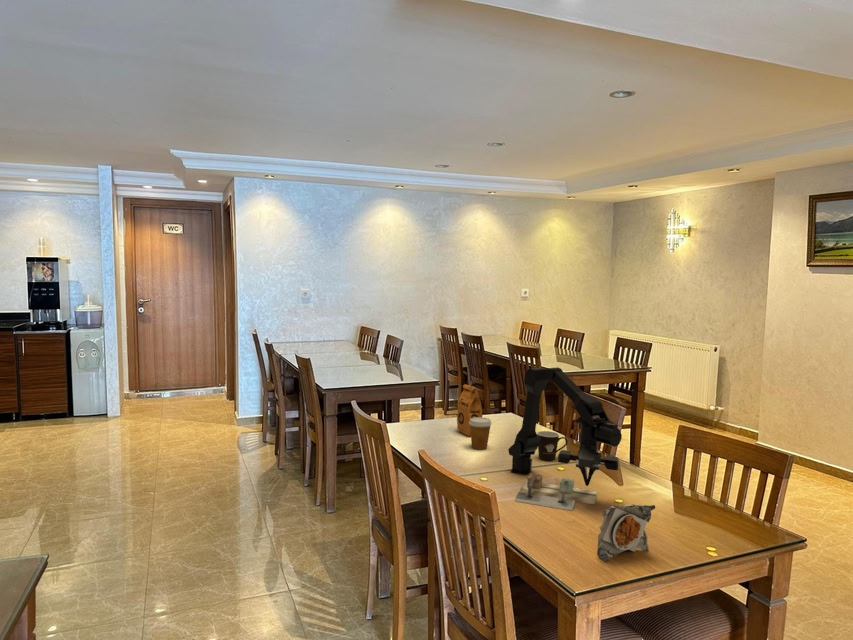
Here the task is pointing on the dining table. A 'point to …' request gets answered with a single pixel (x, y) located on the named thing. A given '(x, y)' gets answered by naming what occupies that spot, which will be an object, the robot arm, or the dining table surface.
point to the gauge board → (556, 490)
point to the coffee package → (468, 409)
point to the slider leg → (566, 487)
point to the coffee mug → (548, 445)
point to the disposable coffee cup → (479, 432)
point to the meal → (623, 530)
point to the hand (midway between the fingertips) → (587, 485)
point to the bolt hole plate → (545, 501)
